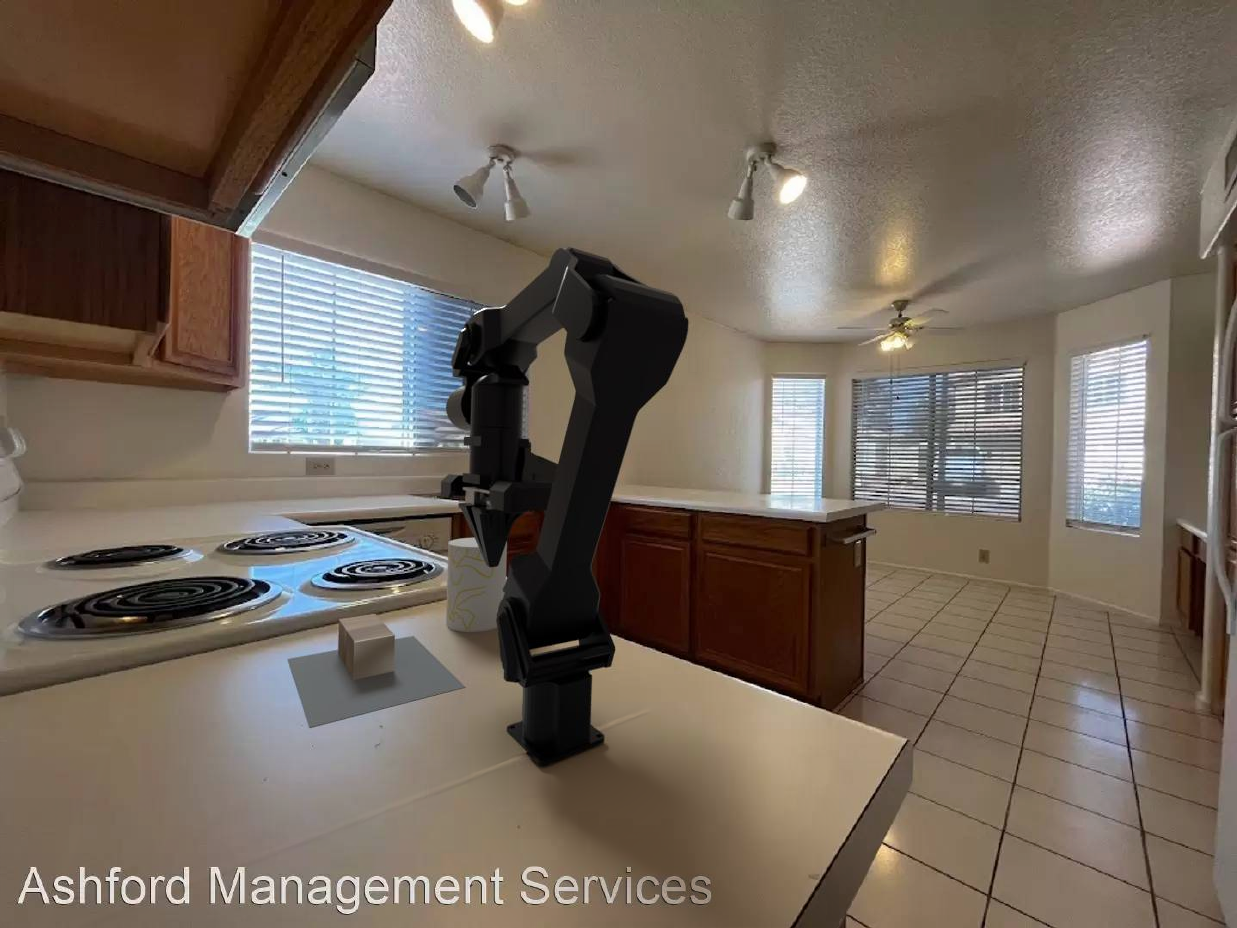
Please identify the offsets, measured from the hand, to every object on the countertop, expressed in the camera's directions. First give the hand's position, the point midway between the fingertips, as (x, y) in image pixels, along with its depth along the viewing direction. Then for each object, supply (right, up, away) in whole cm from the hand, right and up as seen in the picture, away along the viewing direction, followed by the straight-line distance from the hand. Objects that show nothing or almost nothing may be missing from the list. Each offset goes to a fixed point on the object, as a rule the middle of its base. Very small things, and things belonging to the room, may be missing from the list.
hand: (492, 566), depth 58 cm
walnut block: (-12, -9, -3) cm, 15 cm away
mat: (-13, -12, -2) cm, 17 cm away
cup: (-6, -12, +16) cm, 21 cm away
